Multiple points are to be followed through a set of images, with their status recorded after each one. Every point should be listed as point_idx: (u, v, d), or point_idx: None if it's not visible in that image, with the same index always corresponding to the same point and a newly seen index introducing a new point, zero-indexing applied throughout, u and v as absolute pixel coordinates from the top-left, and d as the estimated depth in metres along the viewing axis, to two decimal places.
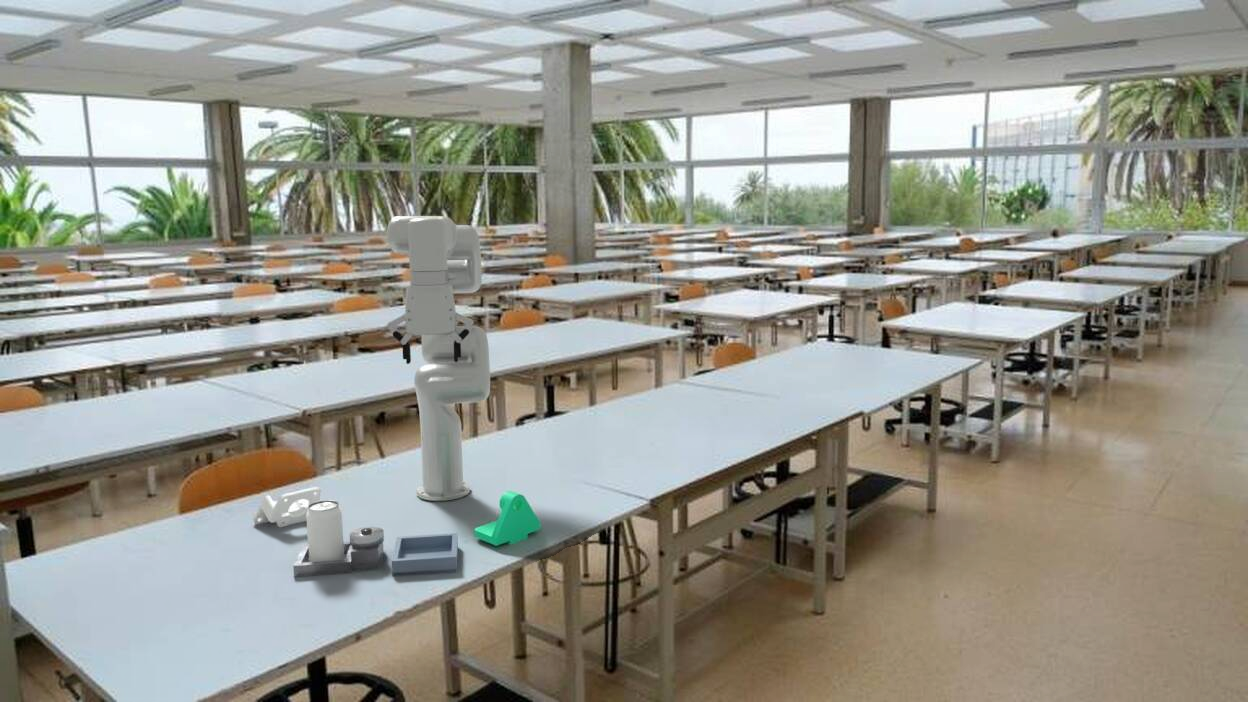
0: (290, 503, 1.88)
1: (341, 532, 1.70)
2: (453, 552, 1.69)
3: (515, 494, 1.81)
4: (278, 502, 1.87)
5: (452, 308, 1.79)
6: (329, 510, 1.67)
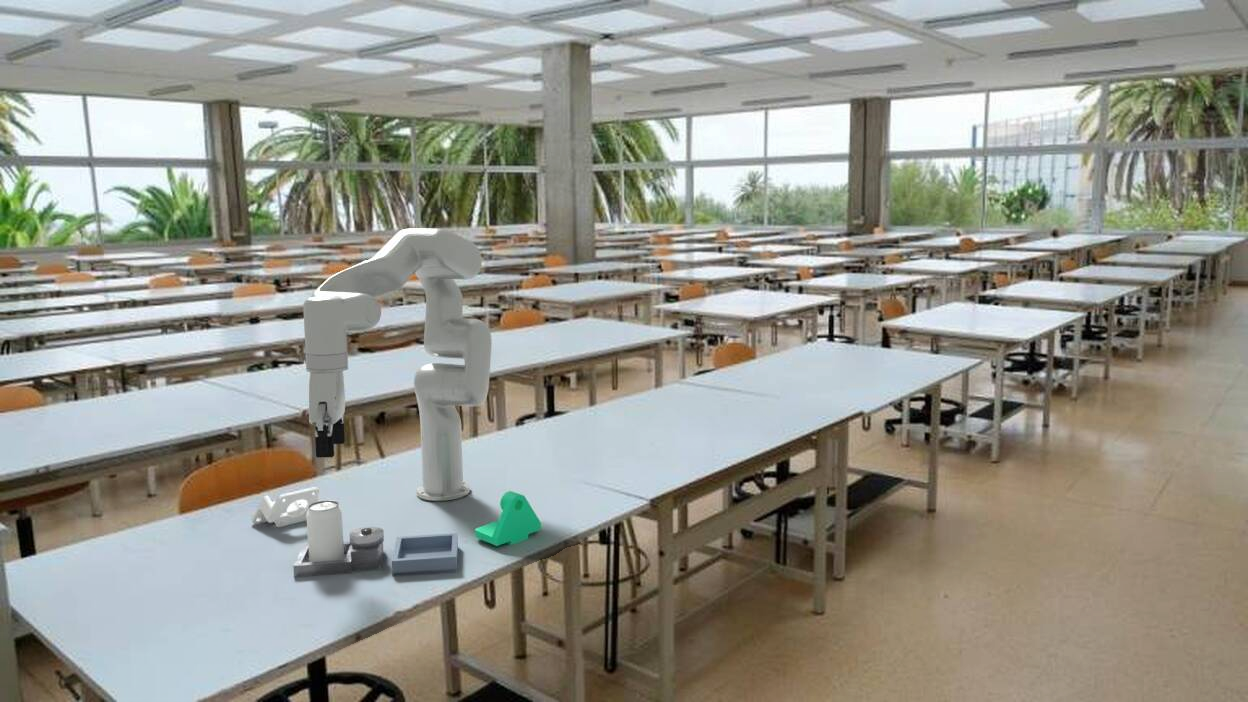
0: (288, 503, 1.88)
1: (341, 532, 1.70)
2: (453, 552, 1.69)
3: (516, 494, 1.81)
4: (276, 502, 1.87)
5: None
6: (329, 510, 1.67)
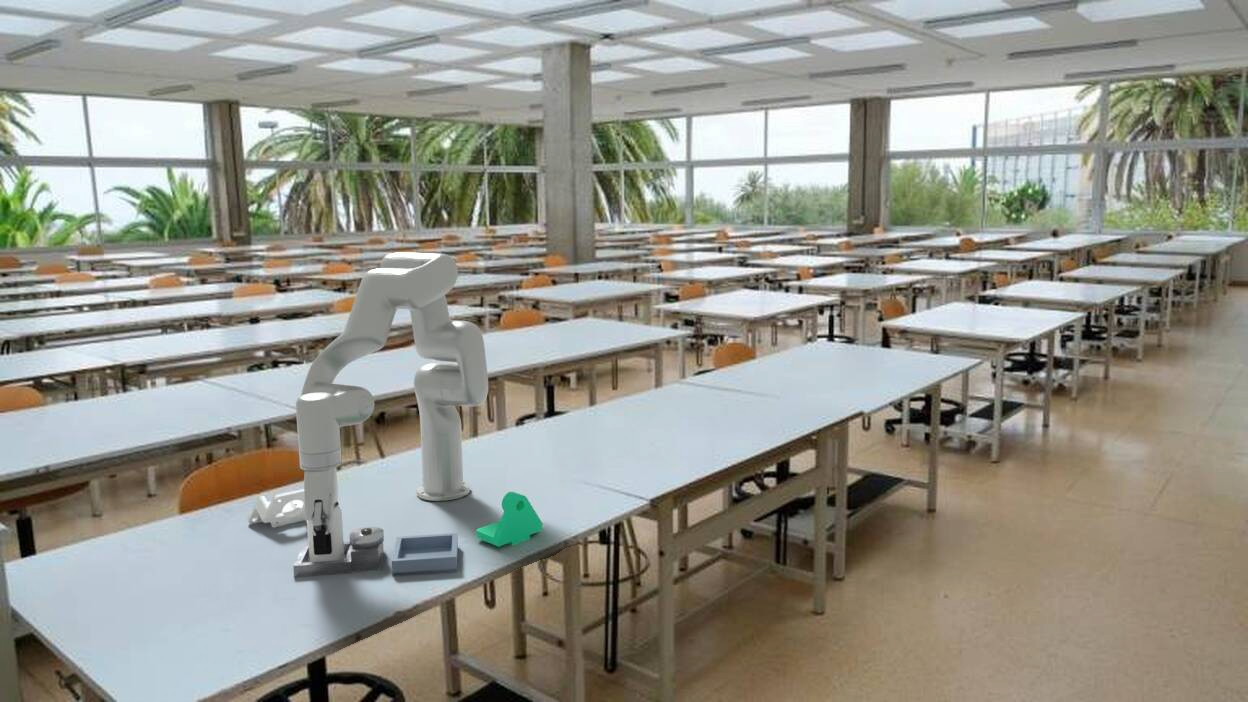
0: (284, 504, 1.88)
1: (341, 532, 1.70)
2: (453, 552, 1.69)
3: (517, 495, 1.80)
4: (271, 503, 1.86)
5: None
6: None
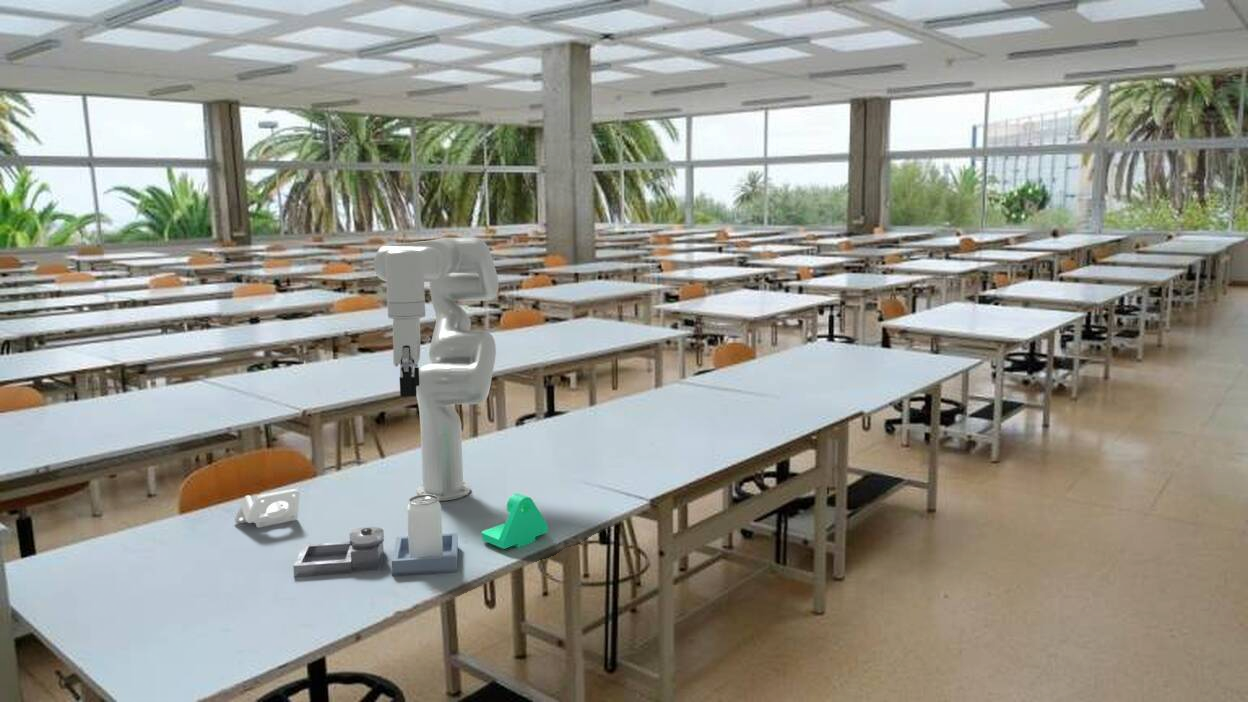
0: (267, 504, 1.88)
1: (441, 526, 1.71)
2: (453, 552, 1.69)
3: (523, 497, 1.79)
4: (254, 503, 1.86)
5: None
6: (430, 504, 1.69)
